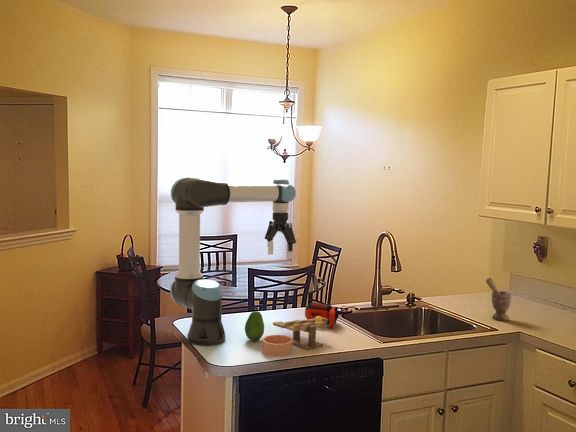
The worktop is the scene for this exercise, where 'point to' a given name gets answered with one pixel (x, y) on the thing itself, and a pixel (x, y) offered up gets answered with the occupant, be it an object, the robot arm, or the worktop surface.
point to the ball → (318, 319)
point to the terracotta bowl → (277, 345)
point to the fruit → (254, 326)
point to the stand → (305, 342)
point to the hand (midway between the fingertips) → (279, 256)
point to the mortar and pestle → (499, 302)
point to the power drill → (322, 312)
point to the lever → (302, 324)
